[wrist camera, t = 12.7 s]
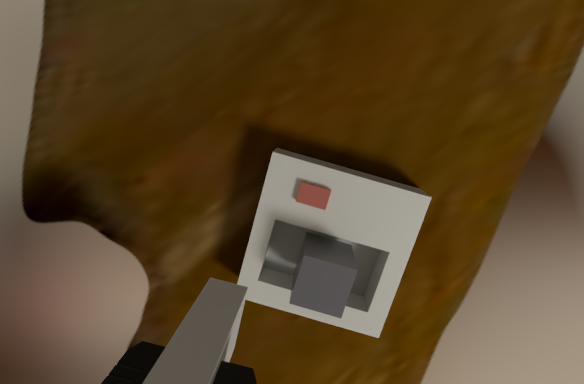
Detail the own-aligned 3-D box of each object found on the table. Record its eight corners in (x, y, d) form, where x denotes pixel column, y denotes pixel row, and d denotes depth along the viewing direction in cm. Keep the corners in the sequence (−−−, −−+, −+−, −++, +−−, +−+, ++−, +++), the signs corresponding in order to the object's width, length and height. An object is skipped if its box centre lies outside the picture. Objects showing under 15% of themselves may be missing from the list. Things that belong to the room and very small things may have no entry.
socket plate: (276, 147, 40) (271, 152, 36) (420, 189, 40) (433, 198, 36) (241, 279, 44) (232, 298, 39) (373, 317, 44) (379, 341, 39)
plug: (306, 227, 41) (304, 254, 34) (350, 240, 41) (357, 270, 34) (294, 267, 43) (289, 303, 35) (336, 280, 42) (341, 318, 35)
